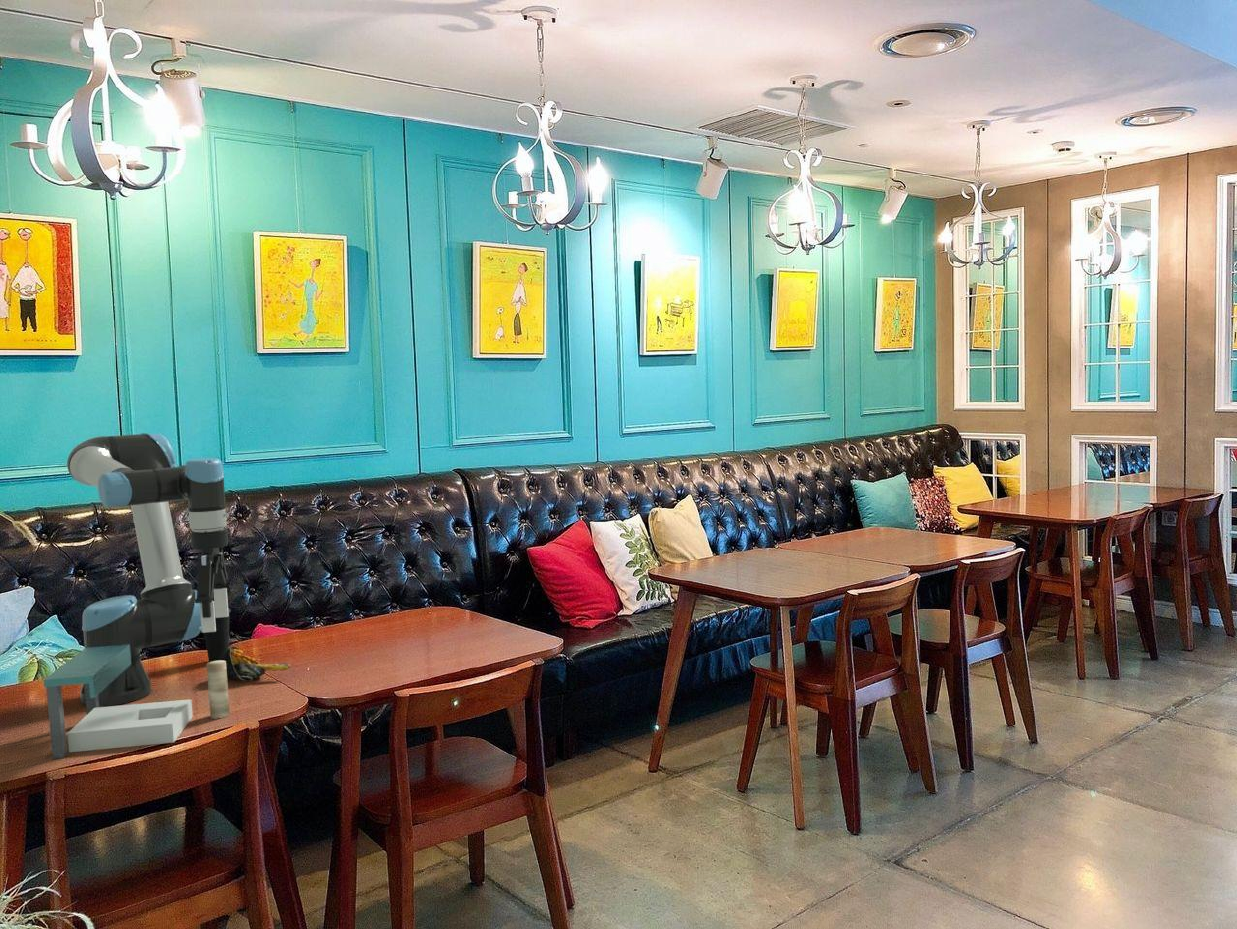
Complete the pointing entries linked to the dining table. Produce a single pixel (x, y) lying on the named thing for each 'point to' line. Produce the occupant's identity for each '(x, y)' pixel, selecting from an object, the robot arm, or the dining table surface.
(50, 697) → the teal miniature table
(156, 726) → the socket block
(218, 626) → the drinking cup
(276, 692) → the dining table surface
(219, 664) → the wooden peg
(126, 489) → the robot arm
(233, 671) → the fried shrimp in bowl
